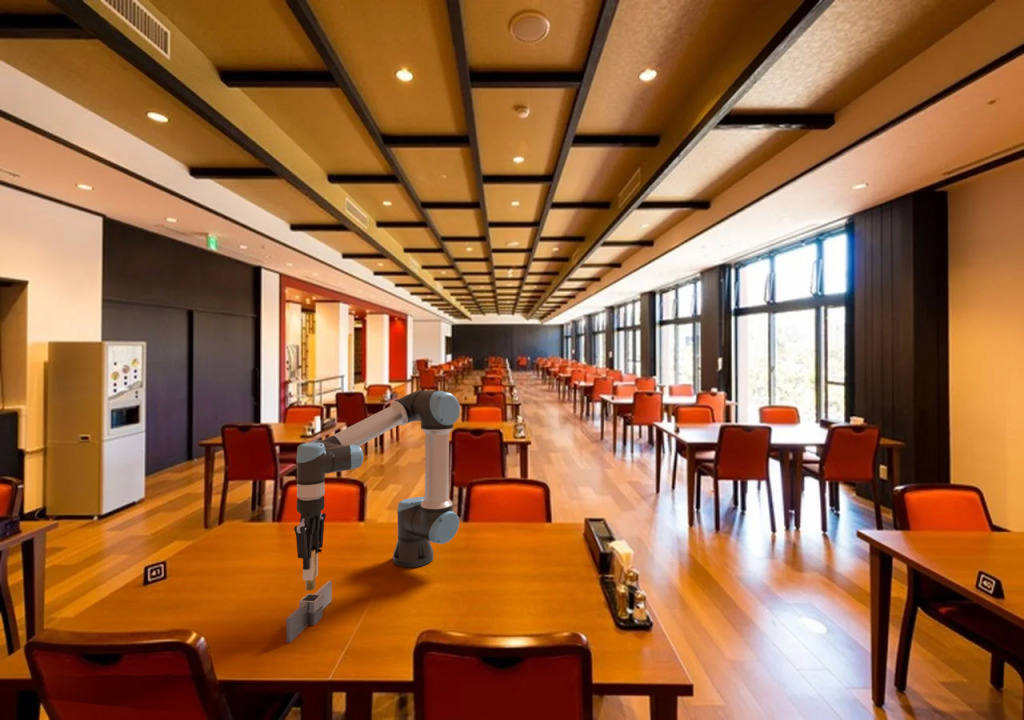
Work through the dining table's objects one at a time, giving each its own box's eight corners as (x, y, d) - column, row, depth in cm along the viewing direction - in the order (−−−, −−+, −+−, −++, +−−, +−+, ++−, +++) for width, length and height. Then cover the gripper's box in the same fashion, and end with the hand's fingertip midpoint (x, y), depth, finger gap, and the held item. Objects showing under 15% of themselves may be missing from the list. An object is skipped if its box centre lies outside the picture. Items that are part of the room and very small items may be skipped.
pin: (308, 586, 144) (308, 548, 144) (316, 586, 144) (317, 549, 144) (303, 590, 141) (303, 552, 141) (312, 590, 141) (312, 552, 141)
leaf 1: (323, 600, 154) (323, 580, 154) (337, 601, 153) (336, 581, 153) (299, 623, 141) (299, 601, 141) (314, 624, 140) (314, 602, 140)
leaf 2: (308, 615, 145) (308, 593, 145) (322, 616, 145) (322, 594, 145) (280, 642, 132) (280, 617, 132) (296, 643, 131) (296, 619, 131)
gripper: (312, 489, 151) (312, 566, 150) (283, 503, 136) (283, 588, 136) (335, 490, 149) (335, 567, 149) (308, 504, 135) (308, 590, 135)
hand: (310, 577), depth 143 cm, fingers closed on pin, 2 cm apart
